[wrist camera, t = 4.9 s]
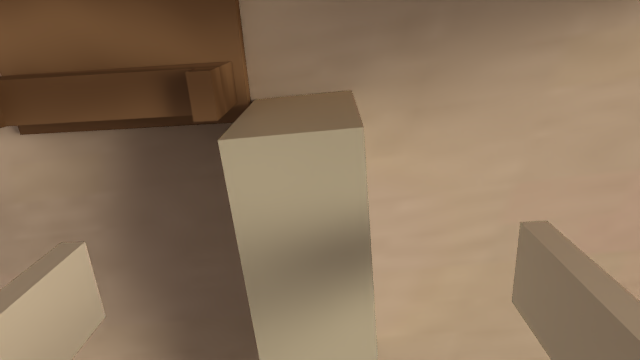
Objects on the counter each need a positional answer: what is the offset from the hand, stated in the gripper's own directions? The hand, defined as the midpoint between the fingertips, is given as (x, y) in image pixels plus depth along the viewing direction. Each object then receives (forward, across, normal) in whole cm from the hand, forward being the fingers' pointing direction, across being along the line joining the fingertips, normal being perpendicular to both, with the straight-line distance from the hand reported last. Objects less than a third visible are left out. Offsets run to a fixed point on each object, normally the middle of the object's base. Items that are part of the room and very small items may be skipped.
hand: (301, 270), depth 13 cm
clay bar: (+11, 0, +4) cm, 12 cm away
